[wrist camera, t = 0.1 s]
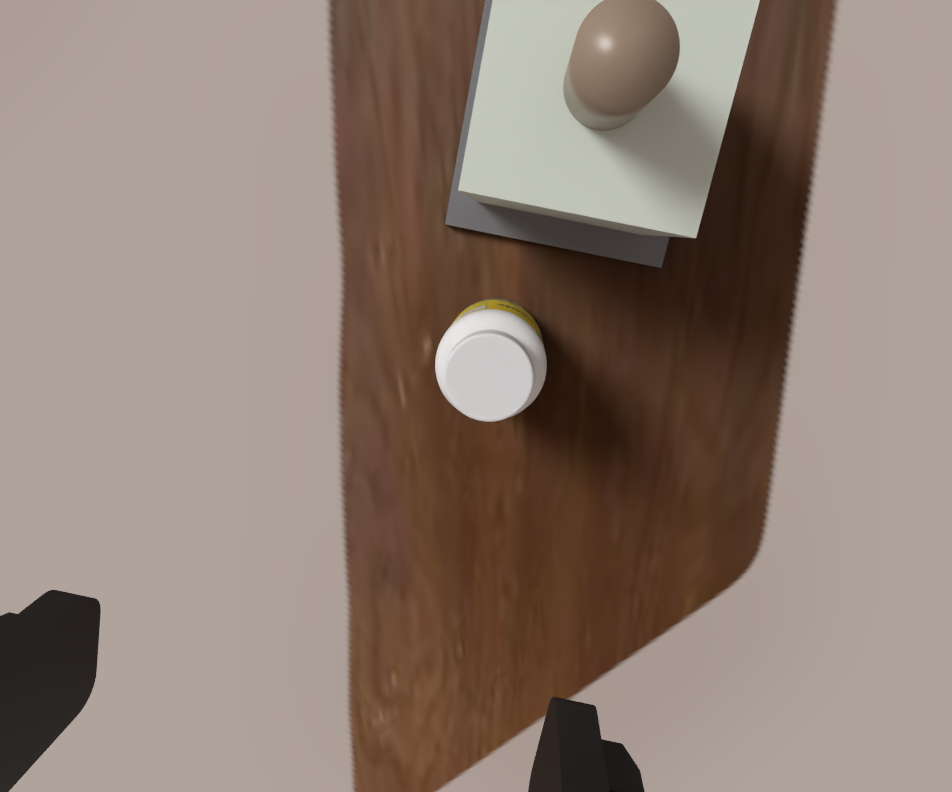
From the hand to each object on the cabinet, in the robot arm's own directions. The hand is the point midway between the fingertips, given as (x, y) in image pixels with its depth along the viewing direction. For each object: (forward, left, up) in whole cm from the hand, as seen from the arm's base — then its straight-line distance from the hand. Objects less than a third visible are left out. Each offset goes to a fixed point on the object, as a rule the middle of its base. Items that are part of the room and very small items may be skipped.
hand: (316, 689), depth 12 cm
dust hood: (-14, +4, -28) cm, 32 cm away
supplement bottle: (-2, +2, -29) cm, 29 cm away
